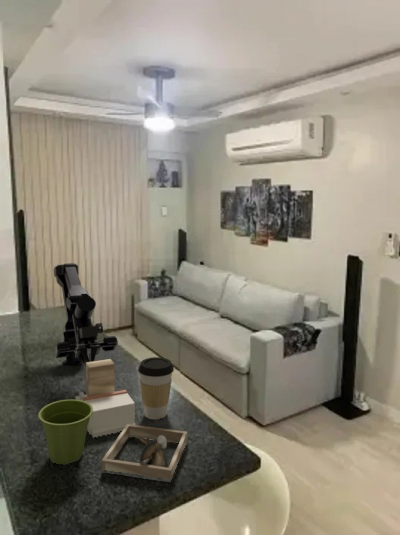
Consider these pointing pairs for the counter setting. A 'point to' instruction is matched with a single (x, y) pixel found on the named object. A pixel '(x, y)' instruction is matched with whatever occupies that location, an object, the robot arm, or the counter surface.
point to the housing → (109, 412)
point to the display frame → (144, 468)
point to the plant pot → (65, 429)
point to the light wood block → (99, 377)
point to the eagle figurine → (154, 451)
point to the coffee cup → (155, 386)
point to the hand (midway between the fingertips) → (91, 371)
